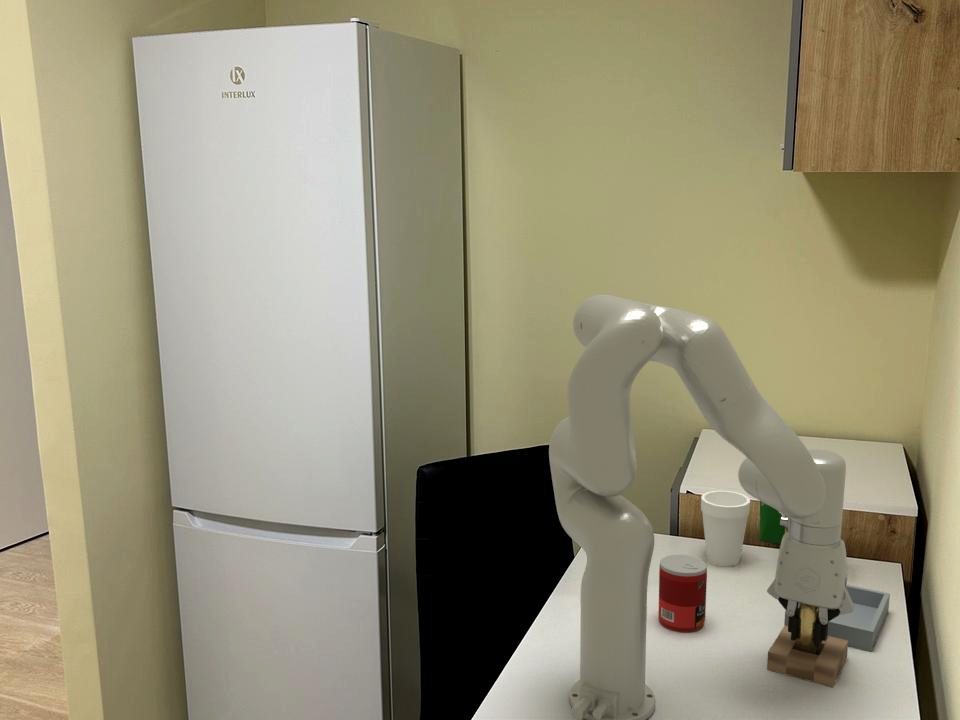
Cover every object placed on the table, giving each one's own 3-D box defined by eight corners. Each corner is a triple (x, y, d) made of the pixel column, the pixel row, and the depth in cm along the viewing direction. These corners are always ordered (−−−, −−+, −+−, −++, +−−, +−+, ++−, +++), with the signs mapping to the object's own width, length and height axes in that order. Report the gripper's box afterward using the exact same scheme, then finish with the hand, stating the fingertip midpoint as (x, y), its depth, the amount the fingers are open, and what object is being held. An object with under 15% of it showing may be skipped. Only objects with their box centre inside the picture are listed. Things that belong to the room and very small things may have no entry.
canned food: (705, 634, 158) (708, 574, 156) (657, 630, 160) (659, 571, 157) (704, 613, 165) (706, 555, 163) (658, 610, 167) (659, 552, 165)
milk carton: (763, 527, 204) (768, 439, 200) (807, 534, 200) (812, 444, 195) (754, 541, 196) (758, 450, 192) (799, 549, 192) (804, 456, 188)
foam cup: (691, 552, 191) (693, 492, 189) (734, 548, 193) (736, 488, 190) (711, 572, 182) (713, 509, 180) (755, 567, 184) (758, 505, 181)
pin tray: (871, 651, 152) (873, 631, 151) (784, 630, 159) (785, 611, 158) (888, 611, 165) (889, 593, 164) (806, 593, 172) (807, 576, 172)
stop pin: (813, 664, 146) (817, 605, 144) (793, 659, 148) (797, 600, 146) (817, 656, 149) (822, 597, 147) (798, 651, 150) (802, 593, 148)
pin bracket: (833, 687, 142) (834, 669, 141) (767, 669, 147) (767, 651, 146) (847, 657, 150) (848, 640, 149) (783, 641, 155) (784, 625, 155)
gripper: (754, 527, 145) (748, 636, 149) (866, 550, 137) (856, 664, 140) (768, 512, 151) (761, 617, 155) (875, 533, 143) (866, 643, 146)
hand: (807, 639), depth 148 cm, fingers closed on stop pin, 3 cm apart
